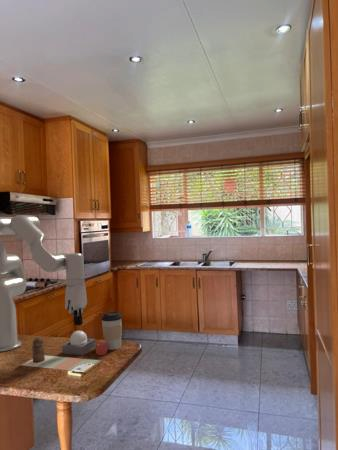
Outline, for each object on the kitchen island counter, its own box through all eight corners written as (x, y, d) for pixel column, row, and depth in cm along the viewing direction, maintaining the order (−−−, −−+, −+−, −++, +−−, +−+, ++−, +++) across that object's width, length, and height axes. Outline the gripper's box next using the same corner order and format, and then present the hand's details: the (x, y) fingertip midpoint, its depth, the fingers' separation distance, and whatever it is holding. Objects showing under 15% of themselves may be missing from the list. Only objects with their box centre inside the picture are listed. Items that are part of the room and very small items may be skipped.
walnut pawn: (30, 362, 140) (29, 339, 140) (38, 358, 144) (37, 335, 144) (39, 363, 138) (38, 339, 138) (47, 359, 143) (45, 336, 143)
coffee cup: (114, 342, 161) (112, 309, 161) (127, 345, 155) (126, 311, 155) (98, 348, 154) (96, 313, 154) (112, 352, 148) (110, 316, 148)
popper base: (62, 354, 148) (61, 345, 148) (76, 346, 158) (75, 337, 158) (82, 356, 145) (82, 346, 145) (95, 348, 154) (95, 339, 154)
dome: (67, 349, 149) (66, 333, 149) (76, 343, 156) (76, 328, 156) (81, 350, 147) (80, 333, 147) (90, 344, 153) (89, 328, 153)
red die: (96, 355, 145) (95, 345, 145) (97, 351, 149) (97, 342, 149) (105, 354, 145) (105, 344, 145) (107, 351, 149) (106, 341, 149)
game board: (19, 366, 138) (19, 365, 138) (39, 356, 148) (39, 354, 148) (85, 373, 127) (85, 372, 127) (101, 362, 138) (101, 360, 138)
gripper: (78, 279, 159) (80, 319, 159) (57, 285, 145) (60, 329, 145) (92, 279, 157) (95, 320, 157) (72, 285, 143) (75, 330, 143)
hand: (78, 324), depth 151 cm, fingers closed
